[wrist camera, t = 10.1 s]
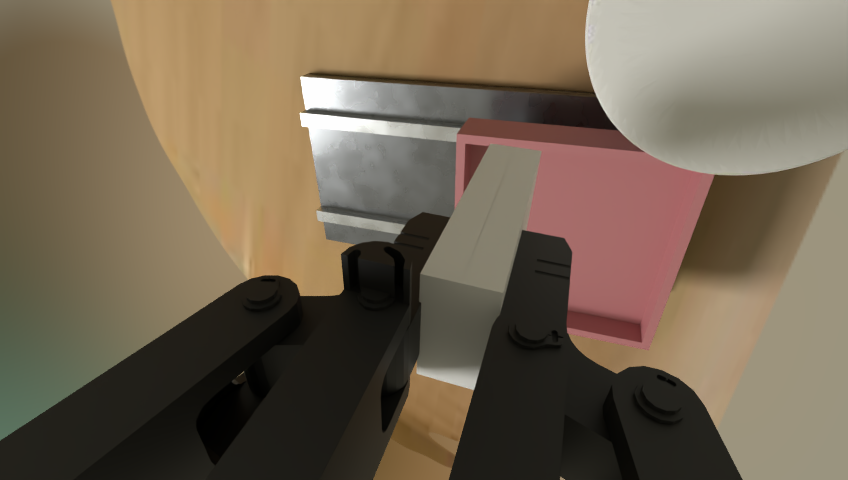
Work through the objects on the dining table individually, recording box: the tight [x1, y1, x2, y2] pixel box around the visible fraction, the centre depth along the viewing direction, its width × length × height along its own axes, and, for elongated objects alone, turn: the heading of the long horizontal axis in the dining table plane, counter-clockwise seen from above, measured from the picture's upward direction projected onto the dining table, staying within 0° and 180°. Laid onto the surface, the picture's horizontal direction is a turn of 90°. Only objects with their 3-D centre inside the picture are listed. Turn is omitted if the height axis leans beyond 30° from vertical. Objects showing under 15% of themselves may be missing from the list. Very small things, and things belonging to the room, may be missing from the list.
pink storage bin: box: [455, 118, 715, 350], centre depth 33 cm, size 15×15×6 cm
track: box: [300, 74, 619, 245], centre depth 39 cm, size 17×33×2 cm, turn 92°
